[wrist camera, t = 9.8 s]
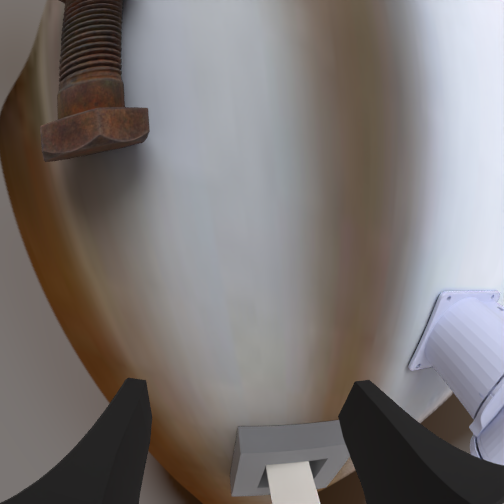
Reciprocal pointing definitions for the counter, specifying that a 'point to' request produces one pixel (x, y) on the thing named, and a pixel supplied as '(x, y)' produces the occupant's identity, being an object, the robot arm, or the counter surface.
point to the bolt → (91, 86)
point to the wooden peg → (292, 483)
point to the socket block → (286, 454)
